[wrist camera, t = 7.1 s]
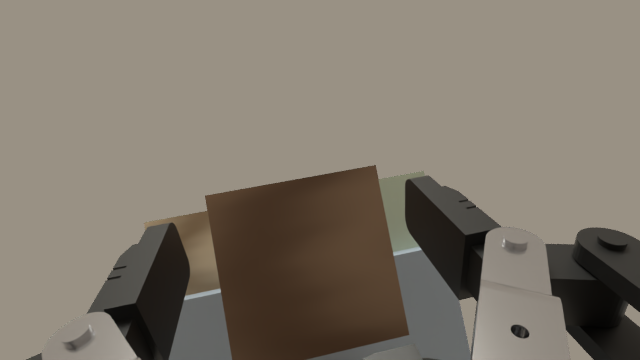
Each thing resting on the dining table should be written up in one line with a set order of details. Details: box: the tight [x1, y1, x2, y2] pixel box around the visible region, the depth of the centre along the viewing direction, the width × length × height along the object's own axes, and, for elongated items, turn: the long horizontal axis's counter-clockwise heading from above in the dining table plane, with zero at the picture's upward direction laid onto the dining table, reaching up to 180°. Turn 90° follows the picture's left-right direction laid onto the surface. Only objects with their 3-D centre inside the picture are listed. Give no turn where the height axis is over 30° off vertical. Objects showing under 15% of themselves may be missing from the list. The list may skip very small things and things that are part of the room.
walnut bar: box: [205, 165, 409, 360], centre depth 18 cm, size 4×22×4 cm, turn 6°
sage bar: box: [378, 171, 425, 252], centre depth 24 cm, size 4×11×4 cm, turn 6°
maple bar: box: [144, 211, 220, 296], centre depth 22 cm, size 4×11×4 cm, turn 6°
